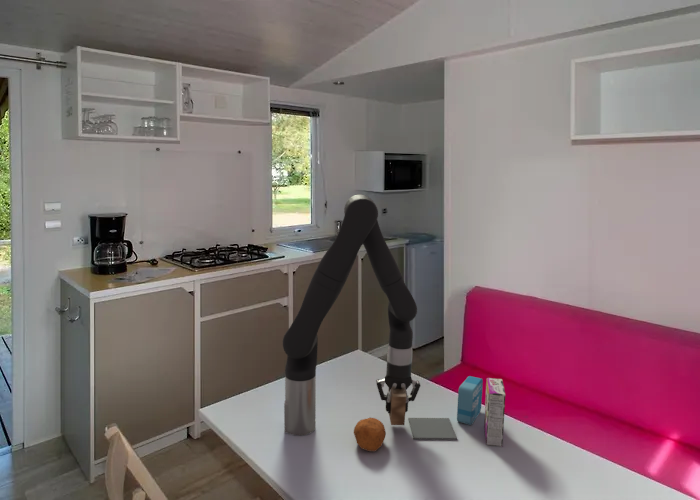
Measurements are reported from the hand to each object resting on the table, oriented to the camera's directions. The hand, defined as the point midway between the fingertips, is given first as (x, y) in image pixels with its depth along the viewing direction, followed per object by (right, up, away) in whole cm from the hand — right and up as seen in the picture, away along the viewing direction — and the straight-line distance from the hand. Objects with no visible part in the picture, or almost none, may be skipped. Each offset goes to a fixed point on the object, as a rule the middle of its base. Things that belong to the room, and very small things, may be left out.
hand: (396, 412), depth 157 cm
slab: (0, -2, 0) cm, 2 cm away
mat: (+11, -5, 0) cm, 12 cm away
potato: (-9, -7, -9) cm, 14 cm away
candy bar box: (+29, -6, -4) cm, 30 cm away
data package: (+24, -4, +8) cm, 26 cm away
